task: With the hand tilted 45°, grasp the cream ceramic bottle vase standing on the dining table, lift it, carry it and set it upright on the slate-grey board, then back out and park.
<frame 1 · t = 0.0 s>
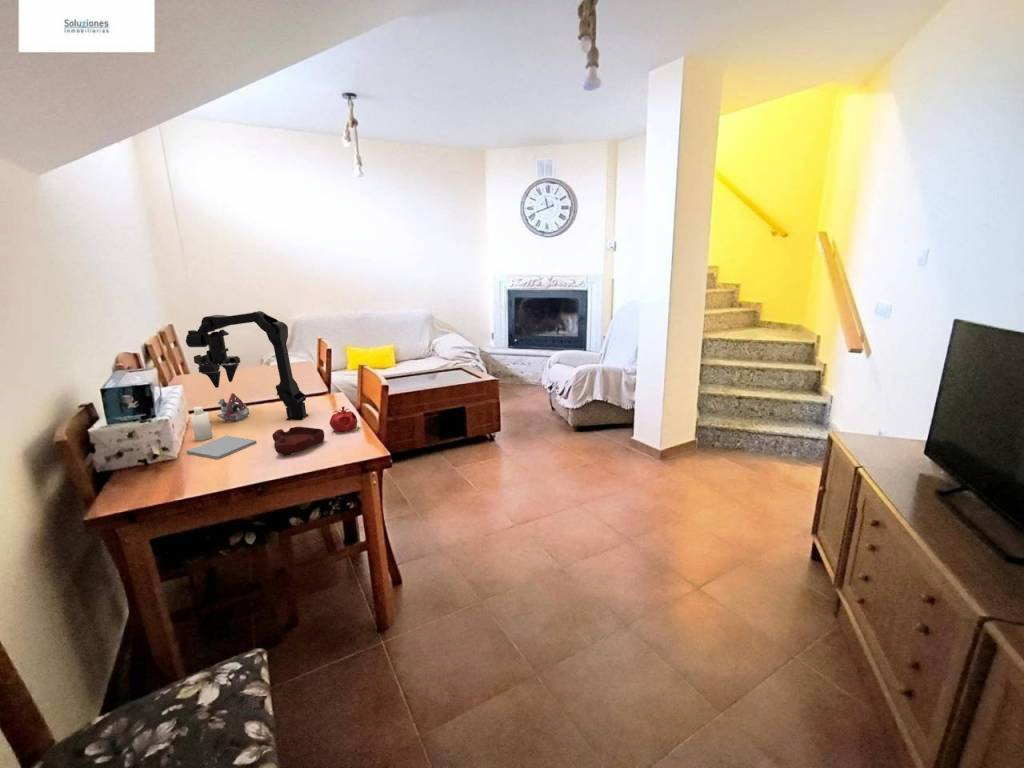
hand: (223, 384, 191), 15 cm above the table, tool pointing down, fingers open, 9 cm apart
grey red pointed piece: (235, 419, 195), on the table
ashtray: (300, 447, 165), on the table
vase: (204, 438, 174), on the table
pomegranate: (344, 430, 180), on the table
board: (222, 448, 164), on the table
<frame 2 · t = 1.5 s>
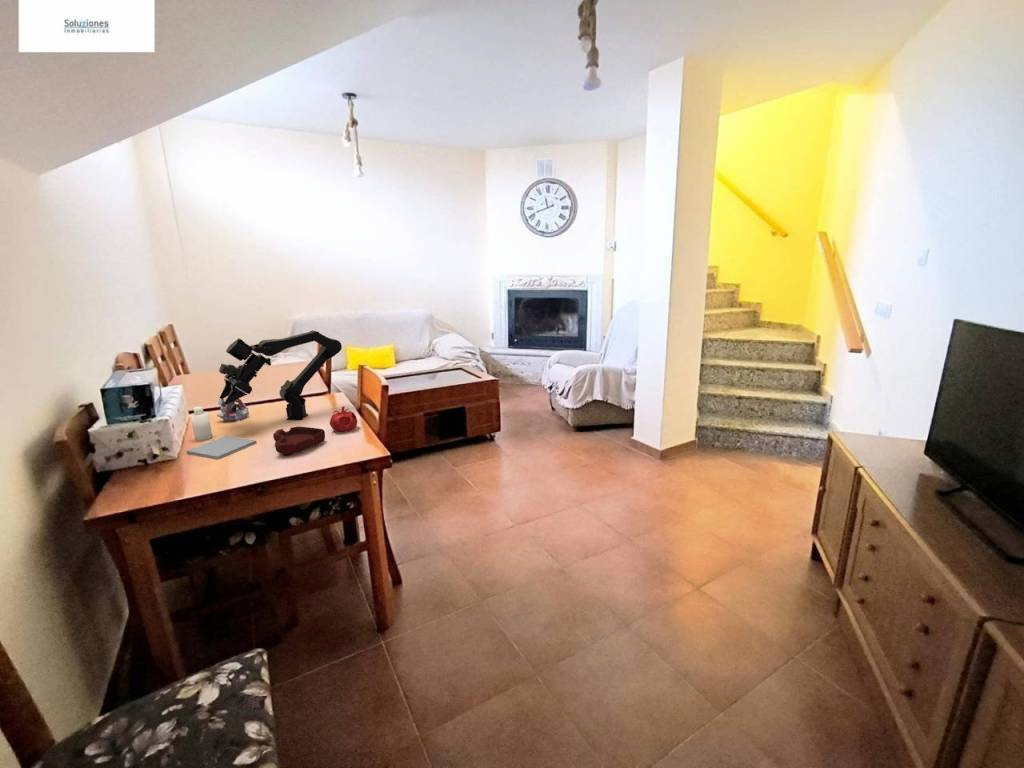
hand: (223, 401, 176), 13 cm above the table, tool tilted 45°, fingers open, 9 cm apart
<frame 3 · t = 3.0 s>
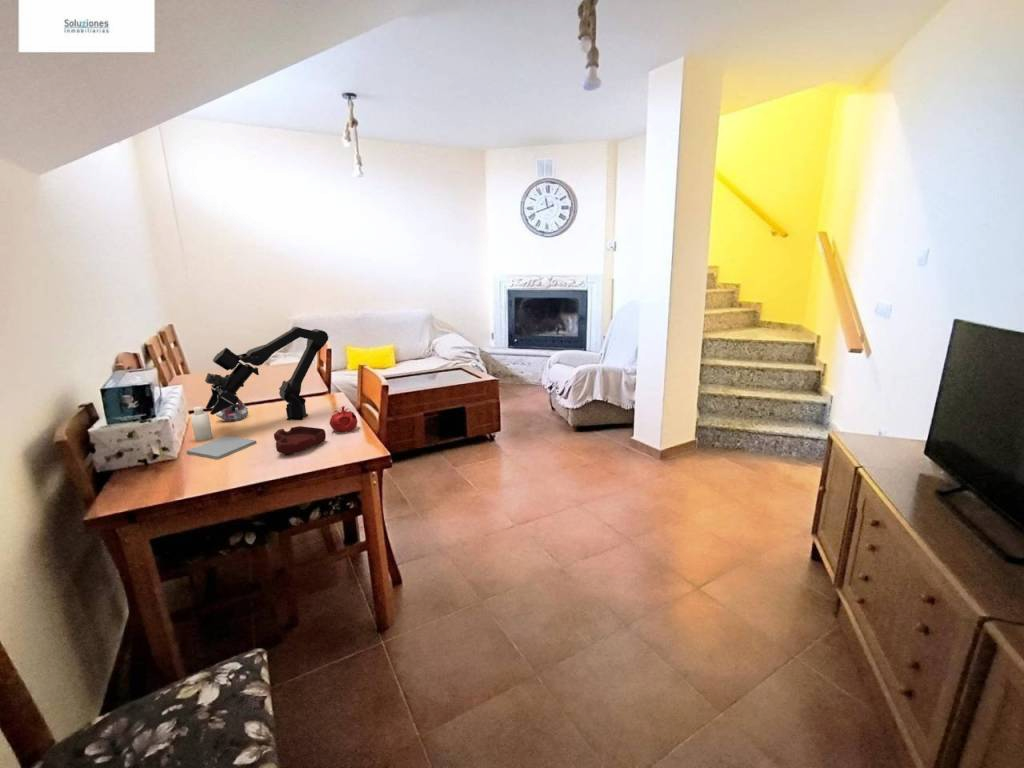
hand: (209, 411, 173), 10 cm above the table, tool tilted 45°, fingers open, 9 cm apart
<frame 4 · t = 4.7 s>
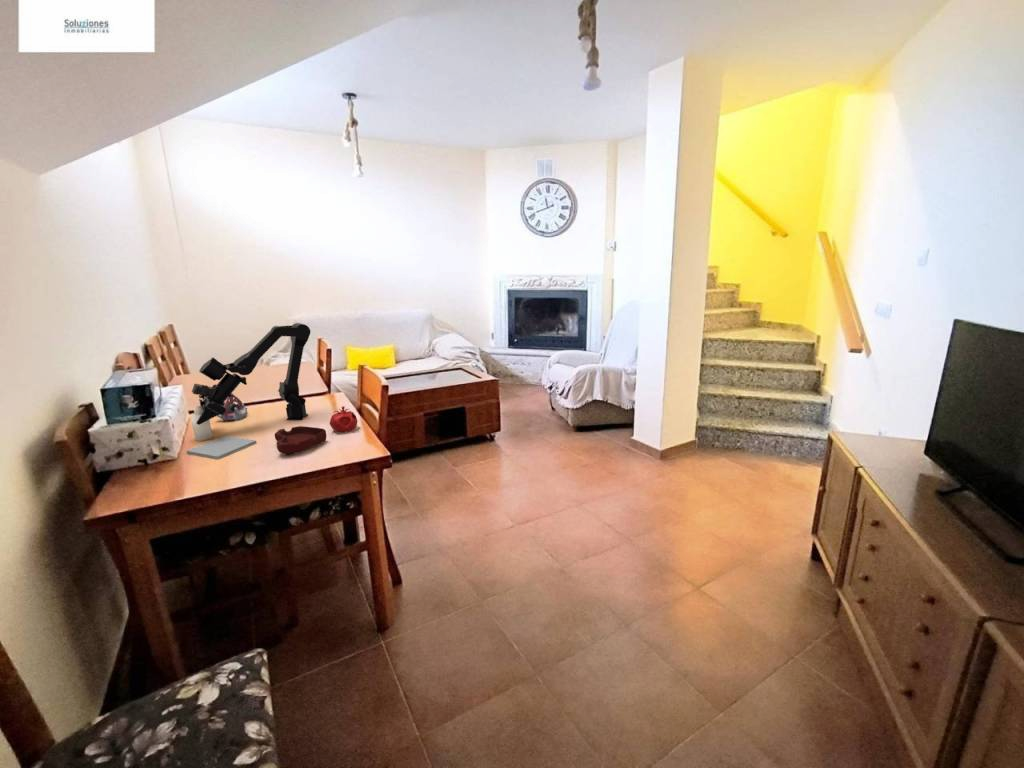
hand: (196, 422, 171), 7 cm above the table, tool tilted 45°, fingers closed on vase, 5 cm apart
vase: (204, 438, 174), on the table, touching gripper
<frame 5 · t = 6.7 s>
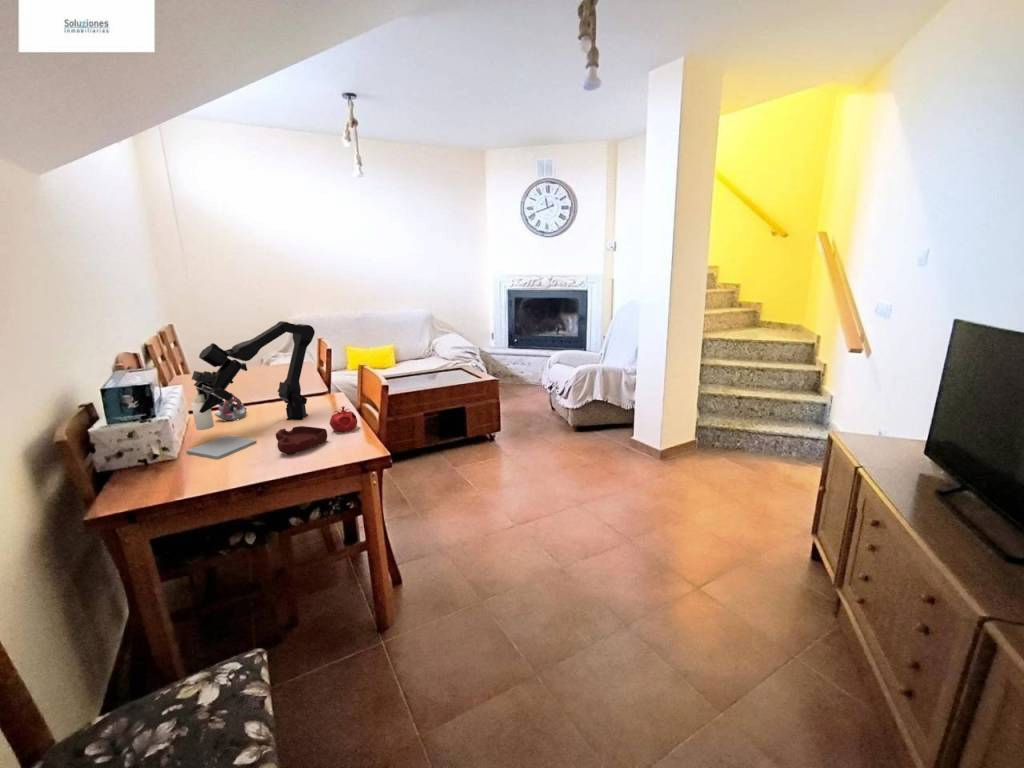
hand: (197, 410, 165), 12 cm above the table, tool tilted 45°, fingers closed on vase, 5 cm apart
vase: (205, 427, 168), point 6 cm above the table, touching gripper
when the fingers open (9 cm above the table, at t = 8.9 s): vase drops 1 cm, resting on board.
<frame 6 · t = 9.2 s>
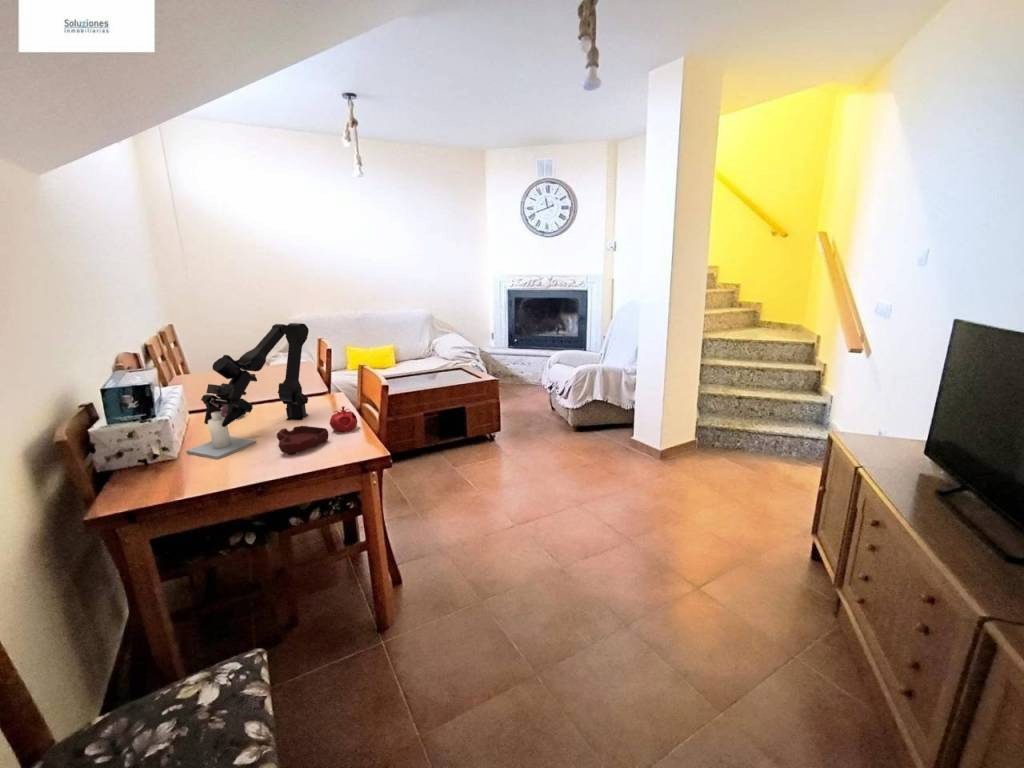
hand: (214, 425, 160), 9 cm above the table, tool tilted 45°, fingers open, 8 cm apart
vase: (222, 445, 164), point 1 cm above the table, touching board
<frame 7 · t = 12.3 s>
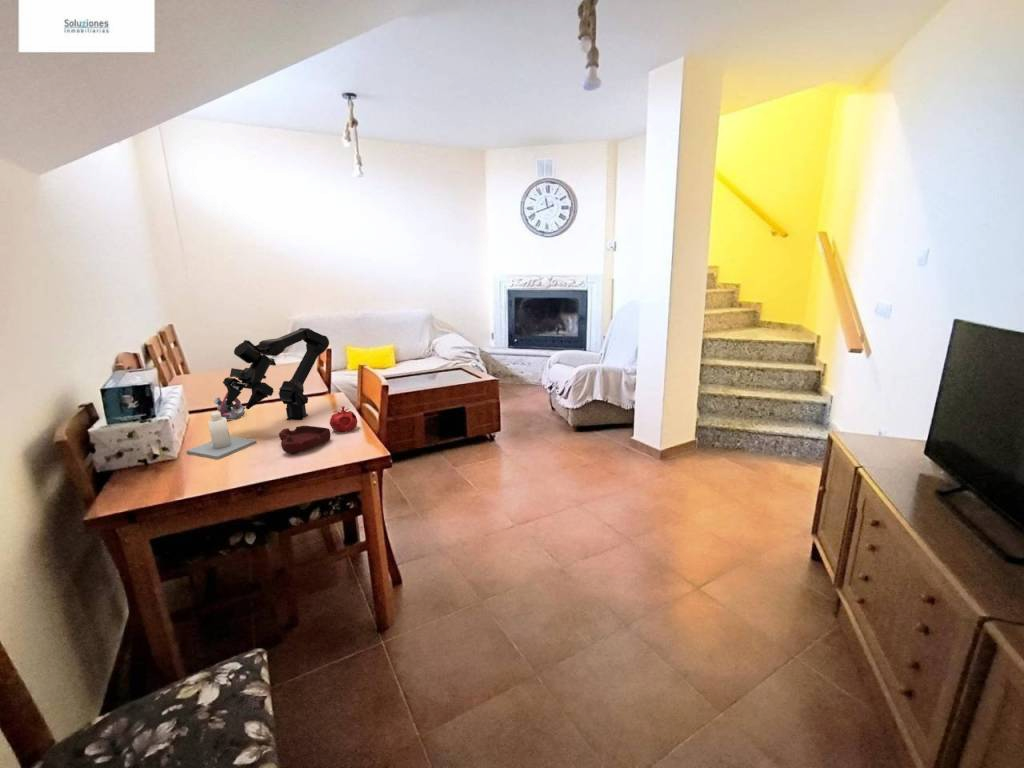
hand: (237, 407, 168), 12 cm above the table, tool tilted 45°, fingers open, 9 cm apart
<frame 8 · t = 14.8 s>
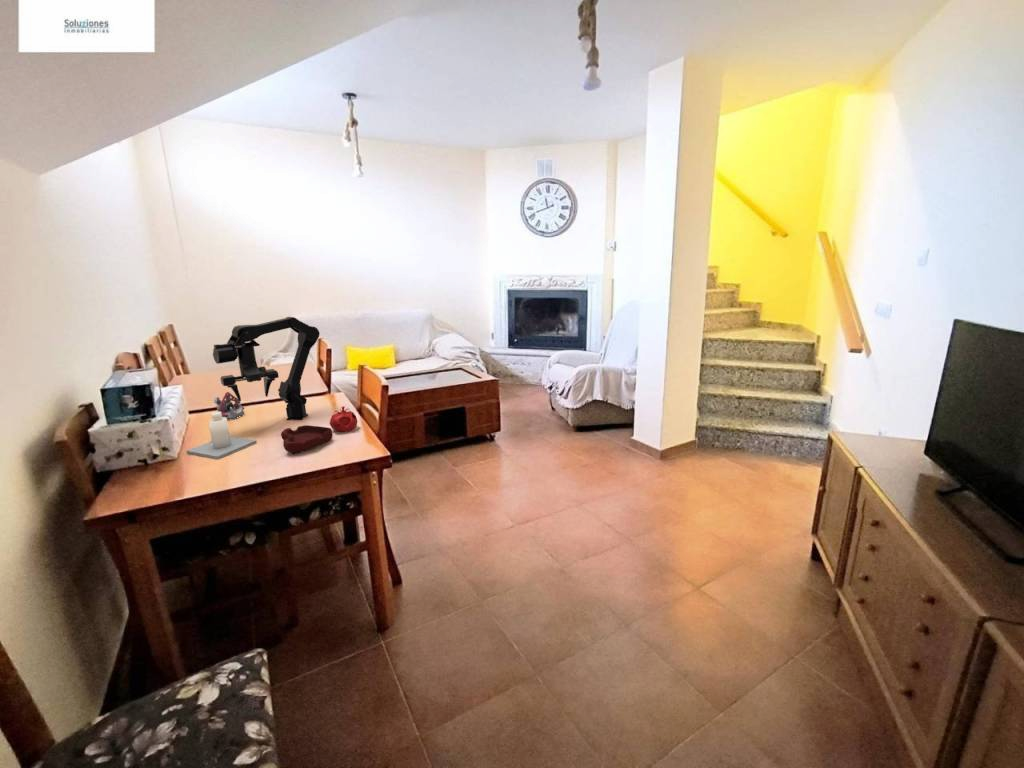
hand: (253, 398, 180), 12 cm above the table, tool pointing down, fingers open, 9 cm apart
at the end: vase inside the target area on the board (0.1 cm from its centre), point 1.1 cm above the board's base; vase tilted 1°; the gripper is holding nothing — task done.
